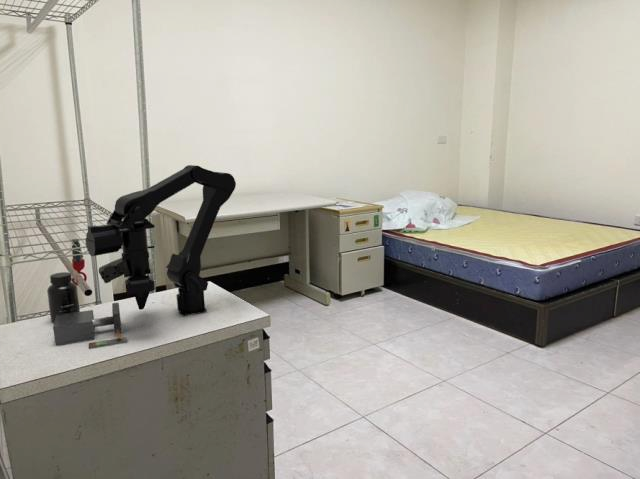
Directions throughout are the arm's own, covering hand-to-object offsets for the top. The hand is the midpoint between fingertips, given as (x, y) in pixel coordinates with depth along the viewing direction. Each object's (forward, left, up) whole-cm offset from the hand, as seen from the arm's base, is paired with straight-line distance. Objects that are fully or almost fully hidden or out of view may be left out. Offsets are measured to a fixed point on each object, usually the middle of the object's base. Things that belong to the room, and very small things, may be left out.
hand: (141, 309), depth 119 cm
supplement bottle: (+18, -13, -4) cm, 23 cm away
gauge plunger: (+11, +2, -4) cm, 12 cm away
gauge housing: (+12, +3, -4) cm, 13 cm away
